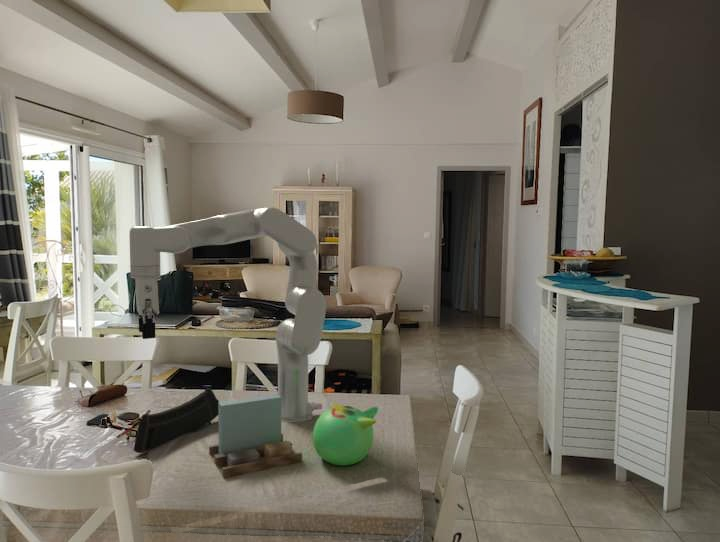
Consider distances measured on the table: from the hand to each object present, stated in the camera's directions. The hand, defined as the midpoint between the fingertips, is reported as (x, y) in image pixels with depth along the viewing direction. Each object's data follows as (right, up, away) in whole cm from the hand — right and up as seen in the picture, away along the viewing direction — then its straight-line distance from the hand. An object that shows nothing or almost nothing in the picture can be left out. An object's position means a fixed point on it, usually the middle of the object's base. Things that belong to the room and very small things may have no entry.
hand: (146, 334), depth 143 cm
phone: (-17, -30, +18) cm, 38 cm away
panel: (+29, -30, -4) cm, 42 cm away
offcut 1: (+29, -31, -12) cm, 44 cm away
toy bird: (+54, -32, -6) cm, 63 cm away
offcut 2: (+37, -31, -8) cm, 49 cm away
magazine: (+7, -30, +8) cm, 32 cm away
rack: (+31, -32, -7) cm, 45 cm away
